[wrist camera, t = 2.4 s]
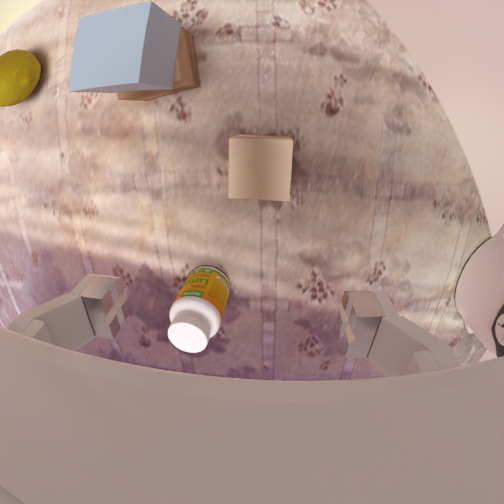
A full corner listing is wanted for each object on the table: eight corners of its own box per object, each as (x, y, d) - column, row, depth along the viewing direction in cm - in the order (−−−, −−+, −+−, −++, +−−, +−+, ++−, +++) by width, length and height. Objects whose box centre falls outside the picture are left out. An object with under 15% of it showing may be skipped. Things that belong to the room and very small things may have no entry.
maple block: (290, 136, 26) (293, 140, 21) (287, 185, 28) (289, 201, 23) (239, 134, 27) (229, 138, 21) (238, 182, 29) (228, 198, 23)
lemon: (61, 56, 23) (17, 52, 16) (41, 111, 26) (-2, 119, 19) (20, 46, 21) (-18, 45, 14) (4, 95, 25) (-34, 101, 17)
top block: (181, 24, 17) (151, 1, 12) (172, 89, 20) (138, 82, 14) (118, 32, 17) (79, 18, 12) (111, 92, 20) (68, 92, 15)
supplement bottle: (216, 257, 33) (193, 309, 24) (238, 293, 35) (225, 350, 26) (179, 274, 34) (149, 325, 26) (202, 307, 36) (181, 362, 28)
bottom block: (192, 35, 22) (172, 19, 17) (200, 86, 25) (180, 79, 19) (140, 52, 23) (111, 42, 18) (147, 100, 26) (118, 99, 20)
